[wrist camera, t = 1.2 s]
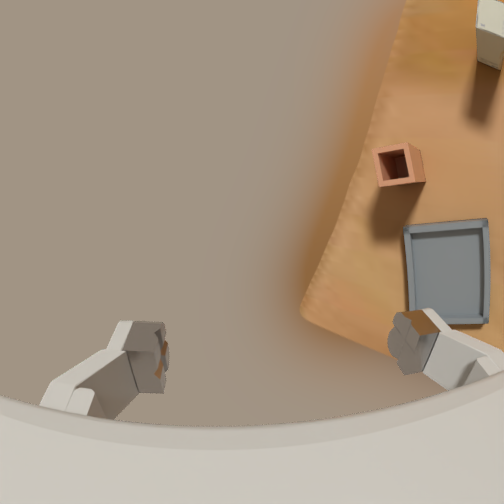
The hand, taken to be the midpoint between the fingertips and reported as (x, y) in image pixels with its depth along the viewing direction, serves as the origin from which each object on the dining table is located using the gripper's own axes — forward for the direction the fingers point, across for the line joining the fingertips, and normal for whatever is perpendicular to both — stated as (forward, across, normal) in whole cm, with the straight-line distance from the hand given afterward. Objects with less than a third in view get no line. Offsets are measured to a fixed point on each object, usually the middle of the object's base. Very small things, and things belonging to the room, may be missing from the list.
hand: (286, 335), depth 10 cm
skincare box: (+27, -37, -25) cm, 52 cm away
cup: (+35, -26, -2) cm, 43 cm away
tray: (+27, -33, +12) cm, 44 cm away
